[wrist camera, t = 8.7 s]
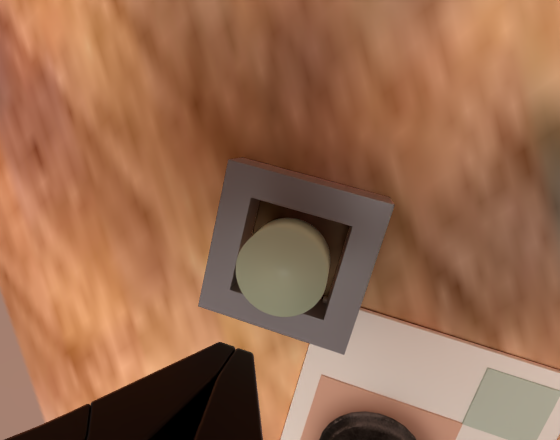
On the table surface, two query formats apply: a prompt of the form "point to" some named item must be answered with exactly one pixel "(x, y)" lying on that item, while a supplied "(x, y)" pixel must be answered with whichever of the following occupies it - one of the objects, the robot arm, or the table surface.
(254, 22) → the table surface
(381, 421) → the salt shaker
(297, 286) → the button
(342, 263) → the button housing
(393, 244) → the table surface
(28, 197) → the table surface
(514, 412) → the sheet
